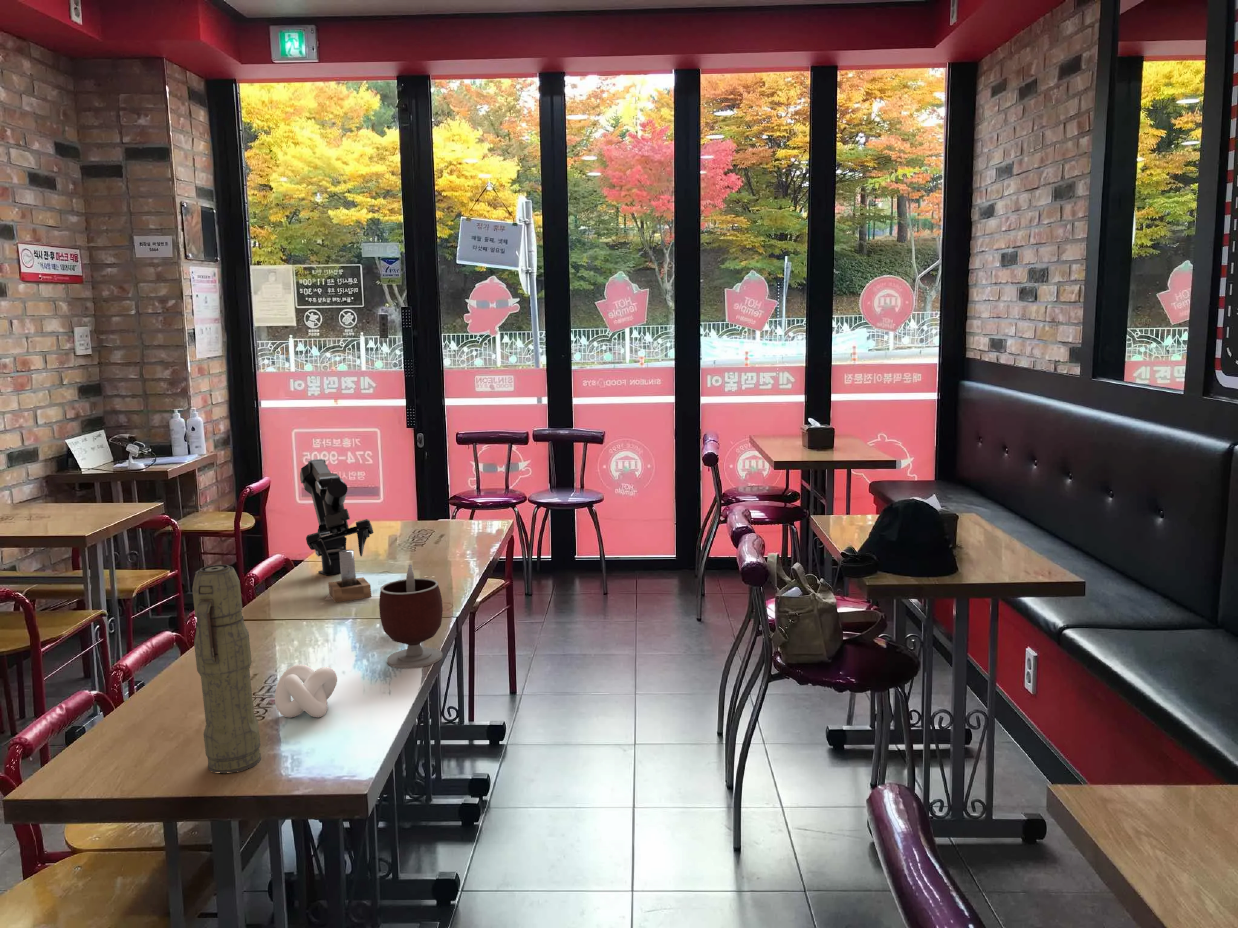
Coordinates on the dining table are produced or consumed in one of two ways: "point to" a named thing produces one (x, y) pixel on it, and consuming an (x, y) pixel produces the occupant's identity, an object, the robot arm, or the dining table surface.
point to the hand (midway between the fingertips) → (345, 560)
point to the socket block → (349, 590)
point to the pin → (347, 568)
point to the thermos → (224, 671)
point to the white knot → (305, 690)
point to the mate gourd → (411, 619)
